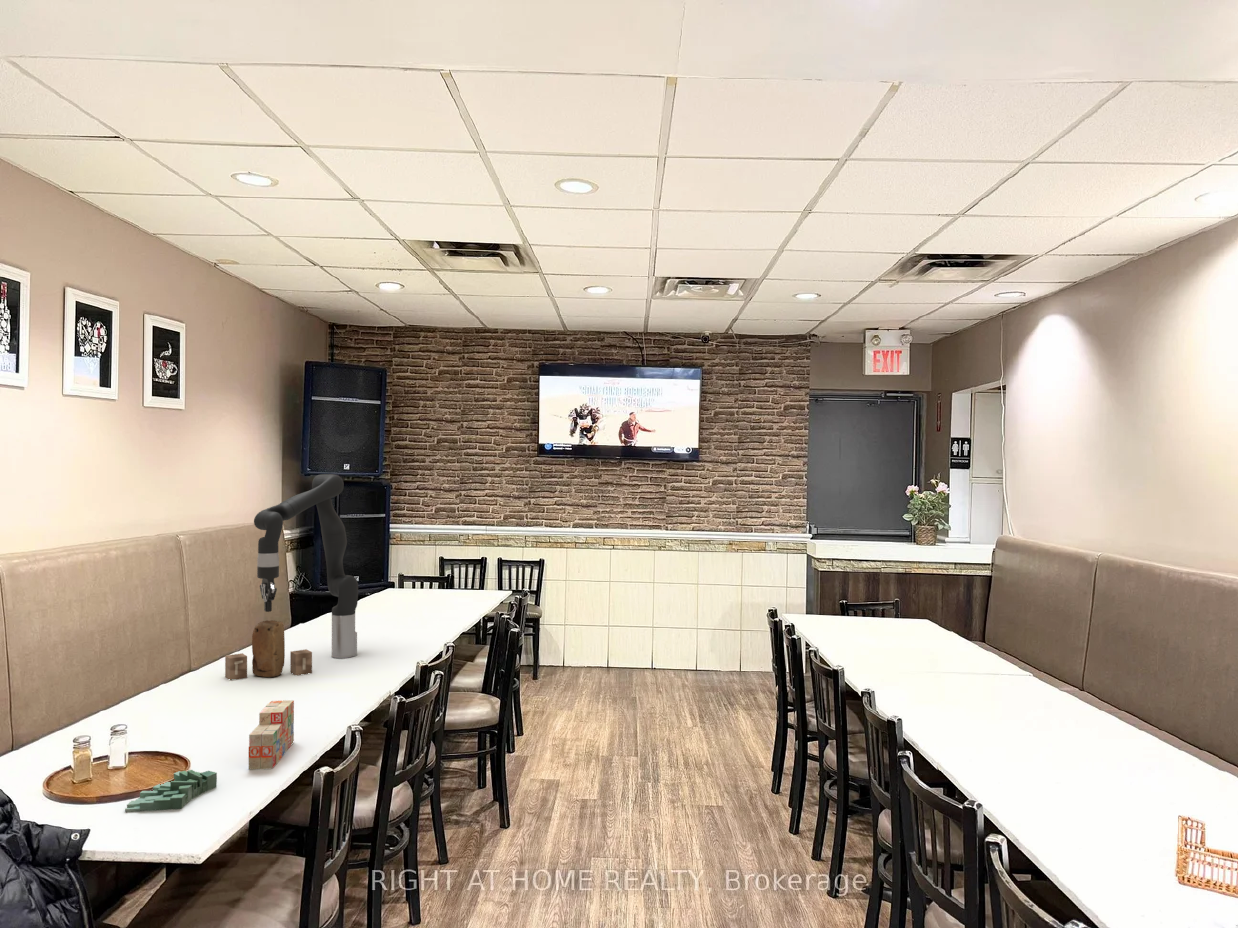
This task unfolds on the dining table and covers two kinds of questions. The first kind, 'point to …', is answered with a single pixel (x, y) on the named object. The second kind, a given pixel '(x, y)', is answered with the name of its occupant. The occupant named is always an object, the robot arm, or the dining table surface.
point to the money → (174, 792)
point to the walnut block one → (301, 662)
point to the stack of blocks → (272, 734)
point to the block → (268, 648)
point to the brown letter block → (236, 666)
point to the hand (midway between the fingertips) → (267, 611)
